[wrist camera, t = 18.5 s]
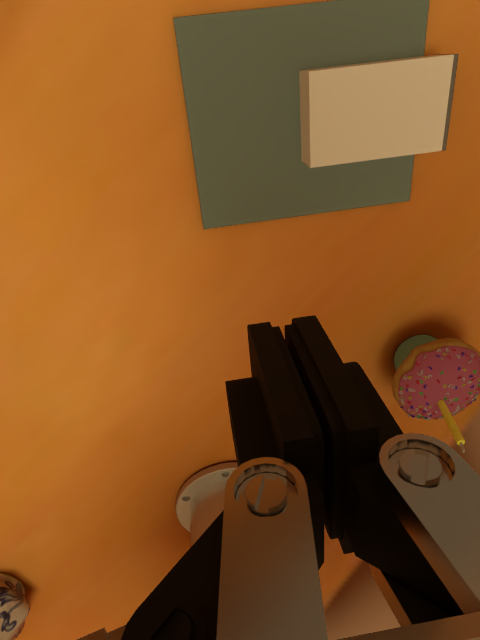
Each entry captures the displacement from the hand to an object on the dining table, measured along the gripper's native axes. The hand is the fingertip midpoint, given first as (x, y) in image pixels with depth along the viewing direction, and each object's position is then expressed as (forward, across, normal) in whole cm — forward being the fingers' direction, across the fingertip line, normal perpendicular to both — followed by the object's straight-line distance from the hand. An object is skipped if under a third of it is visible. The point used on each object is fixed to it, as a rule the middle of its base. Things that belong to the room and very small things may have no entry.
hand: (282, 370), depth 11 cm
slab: (+24, -7, -3) cm, 25 cm away
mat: (+26, -7, -3) cm, 27 cm away
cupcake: (+26, -19, +20) cm, 38 cm away
